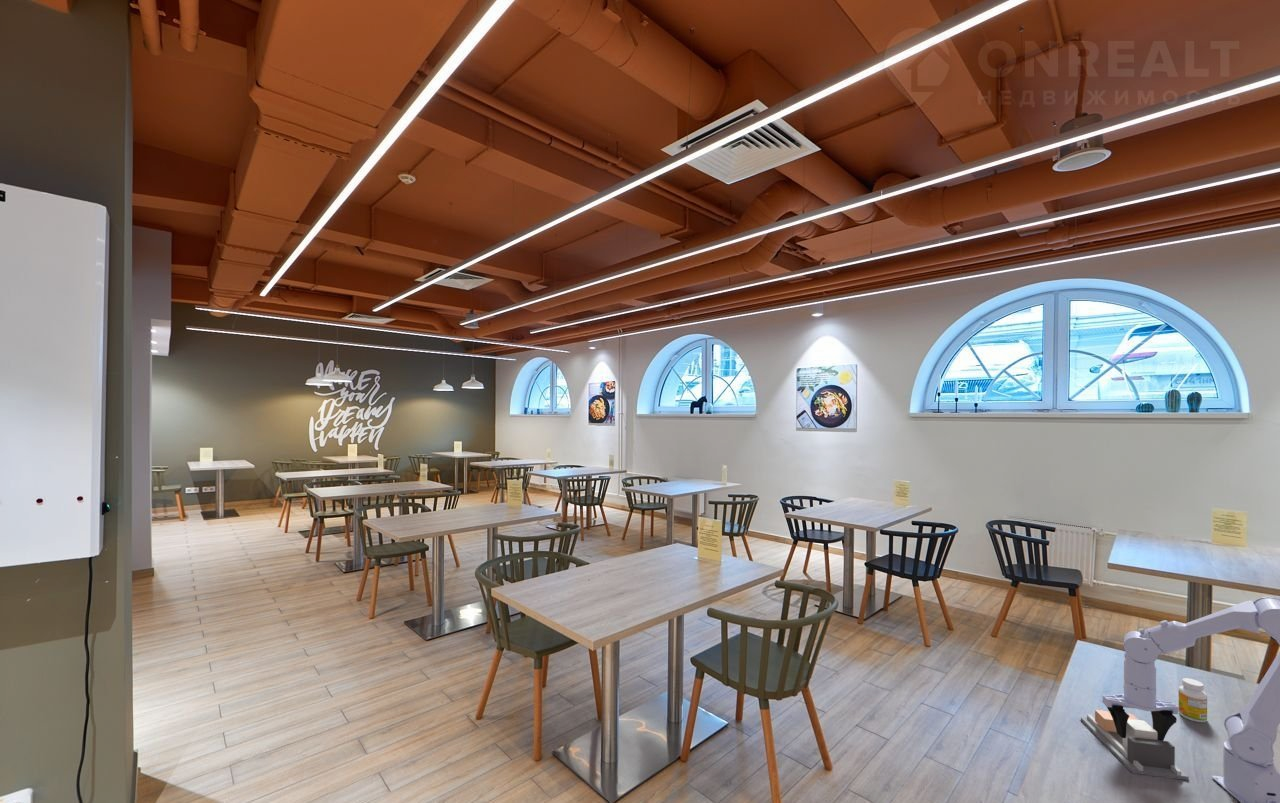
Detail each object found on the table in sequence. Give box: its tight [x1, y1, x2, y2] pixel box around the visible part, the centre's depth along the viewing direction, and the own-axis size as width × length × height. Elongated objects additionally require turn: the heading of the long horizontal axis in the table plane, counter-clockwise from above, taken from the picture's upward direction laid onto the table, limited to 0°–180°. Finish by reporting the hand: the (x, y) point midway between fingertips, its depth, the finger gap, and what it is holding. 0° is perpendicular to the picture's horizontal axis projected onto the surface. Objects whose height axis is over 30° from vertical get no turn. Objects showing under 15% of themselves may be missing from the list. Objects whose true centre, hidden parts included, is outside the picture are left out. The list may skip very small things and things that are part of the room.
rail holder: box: [1080, 714, 1190, 781], centre depth 131 cm, size 20×11×6 cm, turn 167°
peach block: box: [1094, 709, 1139, 732], centre depth 135 cm, size 4×8×3 cm, turn 77°
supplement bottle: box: [1178, 677, 1208, 723], centre depth 142 cm, size 5×5×10 cm
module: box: [1122, 719, 1157, 750], centre depth 127 cm, size 4×4×7 cm
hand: (1139, 737), depth 127 cm, fingers open, 7 cm apart
